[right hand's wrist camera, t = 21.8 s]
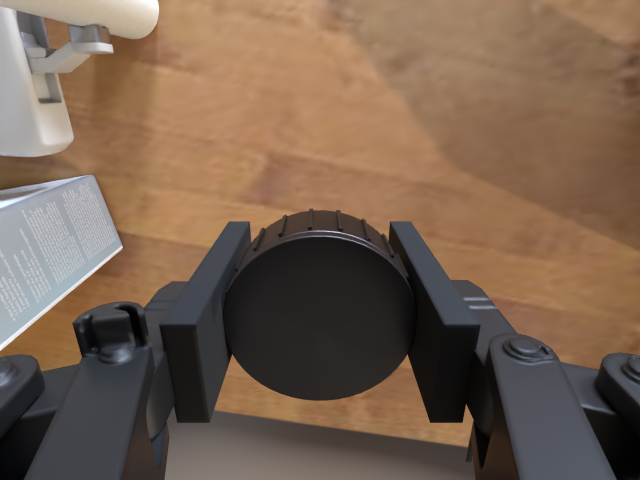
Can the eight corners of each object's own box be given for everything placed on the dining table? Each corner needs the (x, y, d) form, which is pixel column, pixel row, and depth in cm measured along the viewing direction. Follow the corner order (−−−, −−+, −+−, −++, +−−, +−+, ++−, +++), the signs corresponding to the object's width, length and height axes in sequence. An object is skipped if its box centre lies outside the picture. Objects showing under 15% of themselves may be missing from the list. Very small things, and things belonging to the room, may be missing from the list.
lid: (392, 358, 13) (405, 407, 11) (238, 352, 13) (223, 399, 11) (415, 212, 11) (435, 239, 9) (233, 203, 11) (214, 227, 9)
